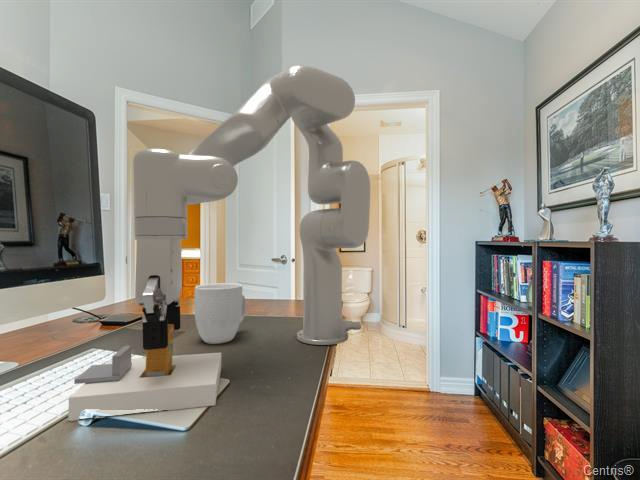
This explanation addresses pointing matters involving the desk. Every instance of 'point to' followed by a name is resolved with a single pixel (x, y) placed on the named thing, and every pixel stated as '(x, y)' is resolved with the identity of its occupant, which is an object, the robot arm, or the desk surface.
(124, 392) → the socket block
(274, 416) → the desk surface
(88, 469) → the desk surface
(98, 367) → the grey l-shaped bracket
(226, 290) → the mug
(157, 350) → the supplement box
